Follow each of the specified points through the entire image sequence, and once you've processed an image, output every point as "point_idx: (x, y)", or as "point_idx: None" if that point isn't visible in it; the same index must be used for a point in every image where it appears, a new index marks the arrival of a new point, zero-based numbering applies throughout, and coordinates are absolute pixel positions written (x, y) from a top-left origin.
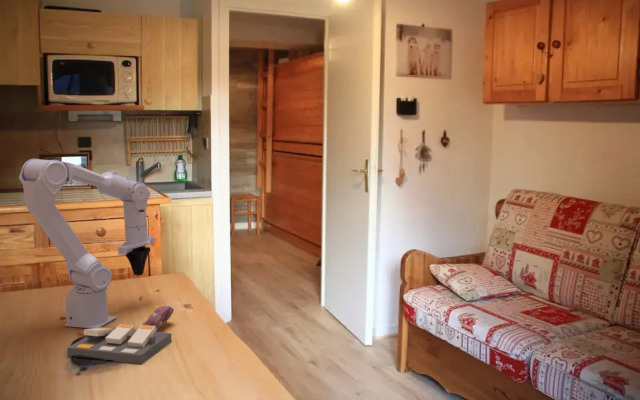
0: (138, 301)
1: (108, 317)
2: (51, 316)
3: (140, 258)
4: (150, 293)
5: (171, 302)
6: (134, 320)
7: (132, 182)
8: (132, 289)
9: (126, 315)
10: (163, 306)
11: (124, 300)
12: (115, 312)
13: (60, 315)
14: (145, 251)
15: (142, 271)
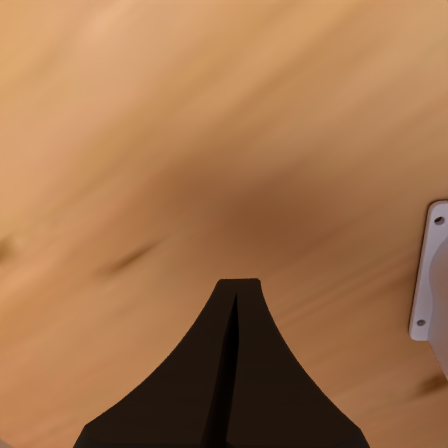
0: (168, 247)
1: (446, 232)
2: (422, 420)
3: (316, 389)
4: (50, 261)
5: (110, 79)
6: (440, 99)
7: None
8: (50, 350)
9: (368, 185)
10: None
11: (180, 306)
12: (337, 254)
13: (408, 403)
14: (240, 444)
15: (237, 290)
